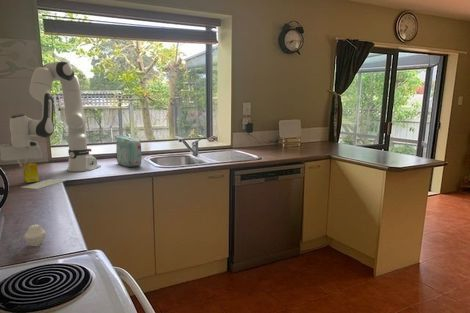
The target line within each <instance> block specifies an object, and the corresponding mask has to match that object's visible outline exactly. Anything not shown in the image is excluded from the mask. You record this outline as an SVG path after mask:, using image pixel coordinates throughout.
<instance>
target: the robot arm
mask: <svg viewBox="0 0 470 313" xmlns="http://www.w3.org/2000/svg"><path fill="white" fill-rule="evenodd" d="M55 81H58V82H60V84H61V92H62V98H63V104H64V105H63V106H64V114H65V123H66V125H67V126H68V127H67V128H68V129H67V130H68V132H67V134H68V135H67V137H68V138H67V139H68V156H69V157H68V163H67V165H68V167H67V171H69V172H86V171H87V172H89V171H93V170H95V169H98V168H101V167H102V165H100V164H98V160H97V158H96V157H94V156H93V155H92V154H90V153H91V152H92V151H93V150H92V148H88V145H87V144H88V142H87V141H88V140H87V118H86V116H85V112H84V104H83V96H82V88H81V85H80V81H79V77H78V76H77V75H76V74H75V70H74V67H73V66H72V65H71V64H70V62H68V61H65V60H64V61H54V62H50V63H46V64H44V65H43V66H39V67H36V68H35V69H34V70H33V73H32V75H31V80H30V84H29V94H30V96H31V97H32V98H33V99H34V100H36V101H37V102H39V103H41V107H42V108H41V118H40V119H33V118H31V117H28V116H27V115H26V114H24V113H20V114H13V115H11V116H10V117H9V131H10V133H11V134H10V136H11V137H10V142H11V143H2V144H0V160H1V161H2V162H4V161H16V162H17V163H18V165H19V168H23V164H25V163H28V160H33V159H42V158H43V151H42V149H41V147H40V145H39V141H37V140H33V139H30V137H41V138H44V139H47V138H50V137H51V136H52V134H54V132H55V124H54V107H55V104H54V96H53V95H52V87H53V82H55ZM21 160H22V161H23V160H24V163H21Z"/></svg>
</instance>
